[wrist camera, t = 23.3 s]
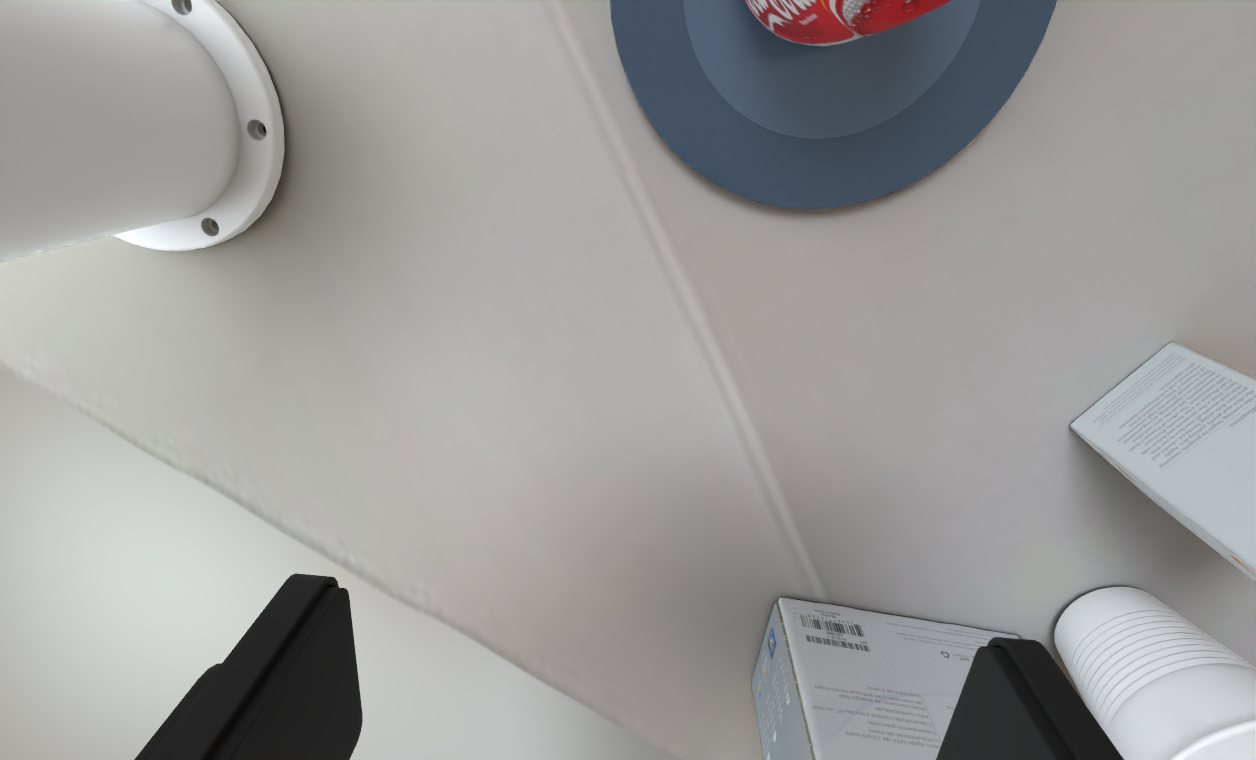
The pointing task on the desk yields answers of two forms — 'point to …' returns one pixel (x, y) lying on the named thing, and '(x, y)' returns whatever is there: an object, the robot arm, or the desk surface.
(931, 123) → the plate
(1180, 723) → the cup
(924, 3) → the soda can
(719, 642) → the desk surface
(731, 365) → the desk surface
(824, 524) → the desk surface
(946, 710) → the hard drive box
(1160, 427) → the small box
